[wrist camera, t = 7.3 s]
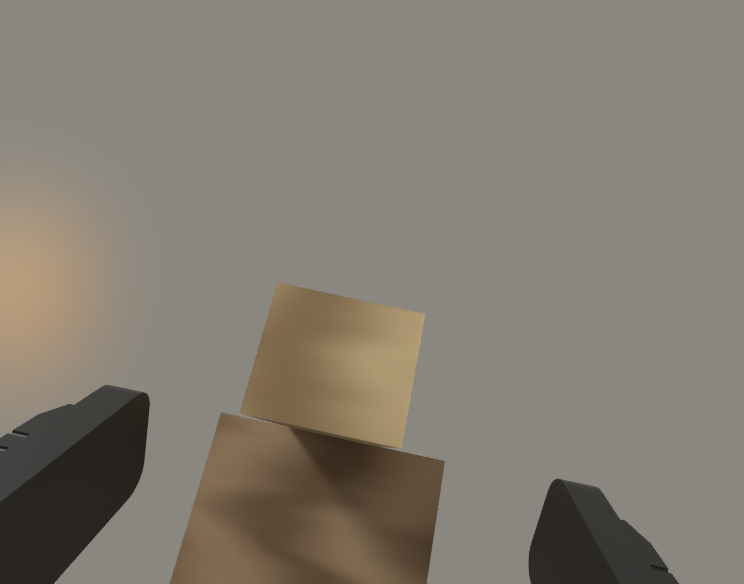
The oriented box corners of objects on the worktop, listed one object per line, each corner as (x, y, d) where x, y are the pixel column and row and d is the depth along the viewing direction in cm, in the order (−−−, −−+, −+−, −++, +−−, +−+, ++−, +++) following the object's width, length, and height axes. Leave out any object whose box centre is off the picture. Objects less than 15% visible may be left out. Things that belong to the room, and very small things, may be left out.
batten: (239, 413, 10) (277, 282, 11) (312, 433, 31) (322, 388, 32) (401, 448, 10) (425, 314, 11) (364, 444, 31) (373, 399, 32)
